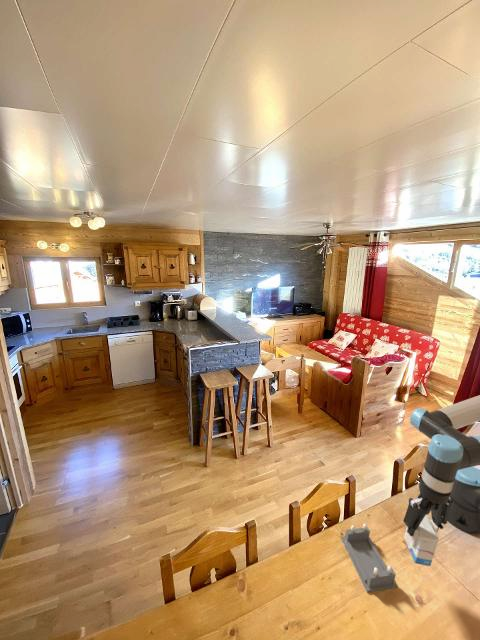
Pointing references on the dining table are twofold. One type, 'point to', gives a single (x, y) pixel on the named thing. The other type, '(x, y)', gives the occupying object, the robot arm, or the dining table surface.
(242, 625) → the dining table surface
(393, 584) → the cradle
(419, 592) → the dining table surface
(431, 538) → the ink box
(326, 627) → the dining table surface
